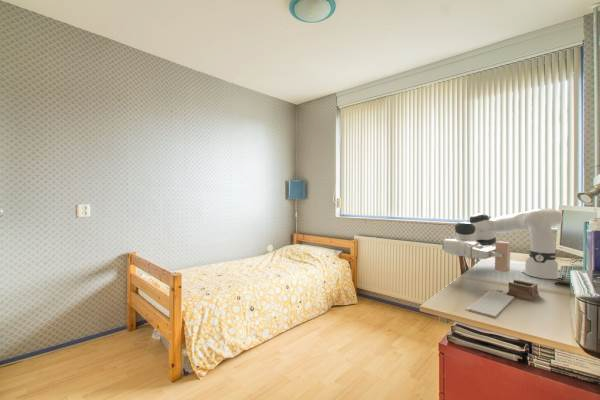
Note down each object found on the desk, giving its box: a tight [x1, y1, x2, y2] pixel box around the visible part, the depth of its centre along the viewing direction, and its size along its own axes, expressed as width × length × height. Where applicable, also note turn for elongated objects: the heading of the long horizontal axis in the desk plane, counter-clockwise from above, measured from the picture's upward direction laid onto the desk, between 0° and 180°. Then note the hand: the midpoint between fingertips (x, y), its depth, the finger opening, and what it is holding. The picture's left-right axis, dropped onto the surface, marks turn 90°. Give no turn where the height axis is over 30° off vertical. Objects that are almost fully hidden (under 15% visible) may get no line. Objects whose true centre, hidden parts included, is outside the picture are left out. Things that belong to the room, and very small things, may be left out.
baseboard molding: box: [465, 288, 515, 319], centre depth 128 cm, size 31×3×12 cm
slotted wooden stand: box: [506, 279, 539, 302], centre depth 138 cm, size 13×9×6 cm
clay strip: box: [494, 240, 511, 273], centre depth 144 cm, size 4×5×14 cm
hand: (504, 254), depth 144 cm, fingers closed on clay strip, 4 cm apart
